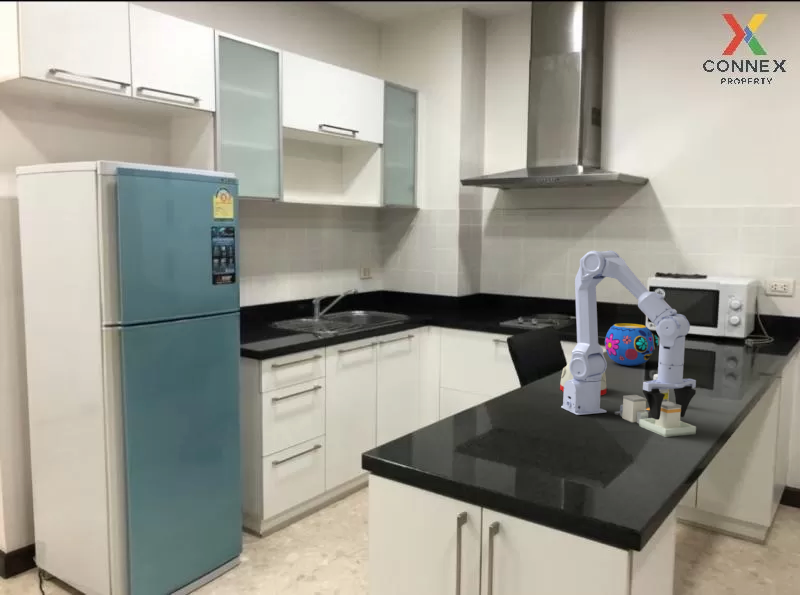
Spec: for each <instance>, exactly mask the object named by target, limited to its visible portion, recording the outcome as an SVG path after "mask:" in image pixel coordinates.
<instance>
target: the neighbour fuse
mask: <svg viewBox="0 0 800 595" xmlns="http://www.w3.org/2000/svg"><path fill="white" fill-rule="evenodd" d="M622 398H623V400H622V405H623V414H622V416H621V417H622V419H624V420H625V421H628V422H630V423H636V421H637V411H646V409H647V399H646V397H645V396H644V397H643V396H641V395H638V394H630V395H623V396H622Z"/></svg>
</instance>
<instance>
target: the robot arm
mask: <svg viewBox="0 0 800 595" xmlns="http://www.w3.org/2000/svg"><path fill="white" fill-rule="evenodd" d="M605 278H611V279H616V280H617V281H618V282H619V283H620V284H621V285H622V286H624V288H625V289H627V291H628V292H630V293H631V295H632V296H634V297H635V299H636V300H638V301H637V307H638V309H639V310H640V311H641V312H642V313H643V314H644V315H645V316H646V317H647V318H648V320H650V321H651V323H652V324H654V326H655V332H656V333H657V335H658V337H659V344H658V346H659V350H658V362H657V363H658V367H657V374H658V379H656V380H653V379H652V380H648V381H643V382H642V383H643V384H642V393H643V394H644V398H646V399H647V400H646V402H647V404H648V408H650V412H649V414H650V418H654V419H656V420H659V418H660V412H661V405H662V401H663V398H664V396H665V394H663V393H660V391H659V390H662V389H669V390H673V393H674V397H675V403H676V404H679V405H681V413H680V418H684V417H685V415H686V412H687V410H688V406H689V405H690V402H691V401H692V399H693V398H694V396H695V395H696V394H697V392H696V386H697V384H696V383H697V380H696V379H693V378H683V377H684V365H685V364H684V363H685V346H686V345H685V344H686V343H685V342H686V336H687V335H688V333H689V332H690V328H691V324H690V322H689V320H688V319H687V317H686V316H685V315H684V314H681V313H678V311H677V310H676V309H675V308H672V306H670V305H669V304H668V303H667V302H666V300H665V299H664V298H665V296H664V295H663V294H662V293H658V292H656V291H649V289H647V287H646V286H645V285H644V284H643V282H641V280H640V279H639V278H638V276H637V275H636V274H635V273H634V272H633V270H631V268H630V267H629V266H628V264H627V262H626V260H625V259H624V258H622V257H620V255H619V253H617V252H616V251H614V250H604V251H603V250H602V251H598V250H590V251H587V253H585V254H584V255H583V256H582V257H581V258H580V259H579V268H578V271H577V272H576V275H575V278H574V288H575V290H574V291H575V297H574V298H575V319H576V342H577V343H576V345H575V346H574V348H573V349H572V351H571V359H570V360H571V361H570V360H569V362H570V364H569V369H570V372H571V374H572V375H573V379H571V380H568V381H566V382H565V384H564V392H563V394H562V396H563V397H562V398H563V399H562V405H561V407H560V408H561V409H564V410H566V411H567V412H570V413H572V414H574V415H576V416H580V415H592V414H593V415H595V414H603V413H607V410H606V409H603V408H600V407H601V395H600V392H601V378H602V374H603V373H604V372H605V373H606V370H607V365H608V362H607V360H606V358H605V355H604V349H603V347H602V346H601V345H600V343H599V336H598V330H599V329H598V311H597V310H598V308H597V304H598V303H597V291H596V290H597V286H598V284H599V283H601V282H602V281H603V280H604V279H605Z"/></svg>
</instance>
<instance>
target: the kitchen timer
mask: <svg viewBox="0 0 800 595" xmlns="http://www.w3.org/2000/svg"><path fill="white" fill-rule="evenodd" d="M570 361H571V359H570V360H569V361H568V363H567V364H566V366H564V367H563V368H562V371H561V378H560V383H559V384H560V387H559V390H560V391H561V390H562V391H561V392H563V393H564V384H565V382H566V381H568V380H571V379H573V375H572V374H571V372H570V369H569V364H570ZM606 377H607V376H606V371H605V372H604V373H603V374H602V378H601V392H600V396H604V395H606V394H607V389H608V388H607V378H606Z"/></svg>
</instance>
